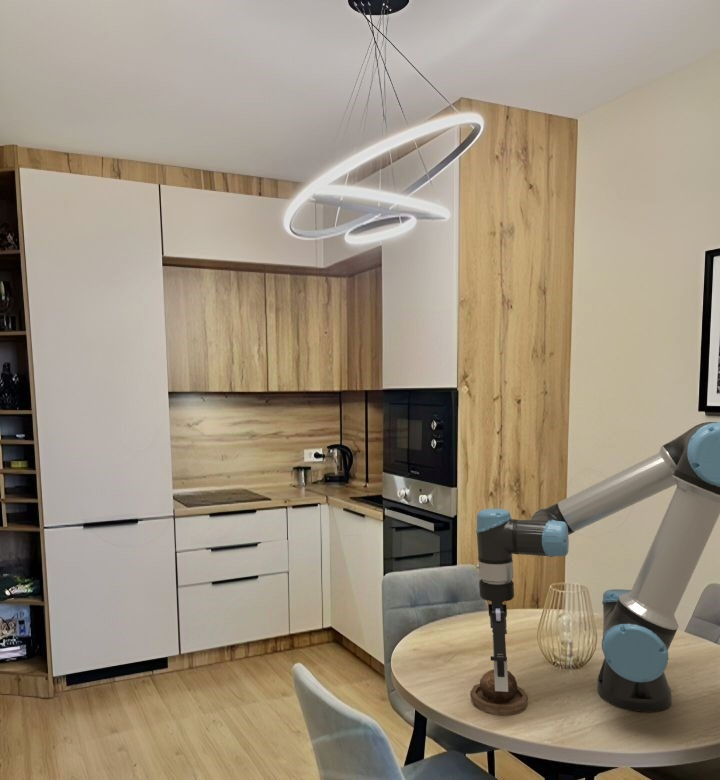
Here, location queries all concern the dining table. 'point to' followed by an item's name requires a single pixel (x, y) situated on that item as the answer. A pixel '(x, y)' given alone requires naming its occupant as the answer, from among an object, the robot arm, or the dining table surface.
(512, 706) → the tray
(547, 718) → the dining table surface
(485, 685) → the brown ball
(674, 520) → the robot arm
